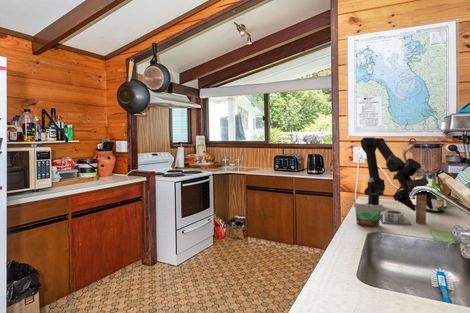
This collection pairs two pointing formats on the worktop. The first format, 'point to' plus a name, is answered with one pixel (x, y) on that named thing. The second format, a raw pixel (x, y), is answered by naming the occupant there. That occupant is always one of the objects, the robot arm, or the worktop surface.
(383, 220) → the bracket
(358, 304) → the worktop surface
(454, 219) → the worktop surface
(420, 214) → the brown wooden cylinder
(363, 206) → the food container
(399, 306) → the worktop surface
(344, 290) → the worktop surface
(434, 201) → the spread jar
